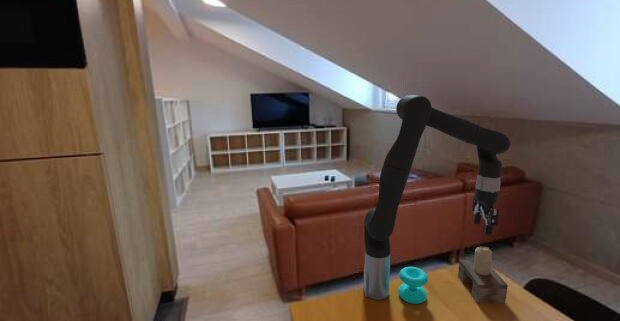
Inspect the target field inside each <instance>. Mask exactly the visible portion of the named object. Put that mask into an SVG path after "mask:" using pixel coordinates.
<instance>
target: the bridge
mask: <svg viewBox="0 0 620 321" xmlns="http://www.w3.org/2000/svg"><path fill="white" fill-rule="evenodd" d="M473 268H474V259H459V263H458V271H457V272H458V273H457V277H458V278H459V280H460V281H461V282H462V283H472V287H471V297H472V299H473V300H474V301H475V303H477V304H506V302H507V301H506V299H507V293H508V286H509V285H508V284H507V283H506V281H505V280H504V279H503V278H502V277H501V276H500V275H499V274H498V273H497V271H496V270H495V269H494V268H493V267H492V266H491V268H490V274H489V275H480V274H477V273H476V272H475V271H474V269H473Z"/></svg>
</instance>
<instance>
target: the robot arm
mask: <svg viewBox="0 0 620 321" xmlns="http://www.w3.org/2000/svg"><path fill="white" fill-rule="evenodd" d="M395 107H396V108H395V110H396V114H397V116H398V117H399V118H400V119H401V120H402V122H401V125H400V128H399V132H398V136H397V138H396V140H395V141H394V143H393V144H392V146H391V147H390V149H389V151H388V152H387V154H386V155H385V159H384V161H383V164H382V167H381V171H380V176H379V182H378V183H379V184H378V186H379V187H378V196H377V198H378V199H377V204H376V206H375V208H371V209H369V210H368V211H367V213H366V214H365V216H364V222H363V224H364V225H363V230H364V232H363V233H364V234H363V235H364V237H363V238H364V266H363V292H364V296H365V298H369V299H372V300H378V301H381V300H385V299H387V298H388V297H389V294H390V277H391V276H390V274H391V273H390V272H391V271H390V270H391V252H392V251H391V242H390V236H391V235H393V234H392V233H393V231H394V228H395V226H396V225H395V224H396V219H397V218H396V217H397V213H398V210H399V206H400V202H401V200H402V197H403V194H404V191H405V189H406V188H405V187H406V186H407V182H408V180H409V177H410V174H411V170H412V166H413V163H414V160H415V158H416V157H415V156H416V153H417V152H418V151H417V150H418V148H419V143H420V140H421V138H422V136H423V133H424V131H425V130H426V129H425V128H426V127H429V128H432V129H434V130H437V131H439V132H441V133H444V134H445V135H447V136H449V137H451V138H454V139H456V140H459V141H461V142H463V143H467V144H469V145H473V146H476V149H477V150H476V151H477V158H478V170H477V176H476V179H475V180H476V181H475V189H474V196H473V197H472V205H471V212H473V225H481V220H482V219H483V220H484V223H485V226H484V235H486V236H491V235H492V234H493V228H494V227H498V225H499V224H498V223H499V214H500V211H499V209H496V208H495V207H494V205H495V204H496V203H498V202H499V196H500V189H501V176H502V168H503V162H502V161H501V160H499V158H498V157H497V155H500V154H504V153H506V152H507V151H508V150H509V149H510V147H511V141H510V140H511V139H510V138H509V136H507V135H506V134H505V133H502V132H500V131H496V130H494V129H491V128H488V127H484V126H481V125H480V124H477V123H475V122H474V121H471V120H468V119H466V118H463V117H460V116H456V115H455V114H451V113H447V112H444V111H441V110H439V109H437V108H435V107H432V103H431V101H430V99H428V98H427V97H425V96H424V95H419V94H418V95H417V94H408V95H405V96H403V97H401V99H399V100H398V101H397V104H396V106H395Z"/></svg>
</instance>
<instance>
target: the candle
mask: <svg viewBox="0 0 620 321" xmlns="http://www.w3.org/2000/svg"><path fill="white" fill-rule="evenodd" d="M474 249H475V251H474V259H473V260H474V268H473V269H474V271H475V272H476V273H477V274H480V275H489V274H490V268H491V267H492V257H493V252H492V250H491V249H490V248H489V247H488V246H478V247H476V248H474Z"/></svg>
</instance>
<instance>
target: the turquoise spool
mask: <svg viewBox="0 0 620 321" xmlns="http://www.w3.org/2000/svg"><path fill="white" fill-rule="evenodd" d="M399 279H400V281H402V284H400V286H399V287H398V295H399V296H400V298H401V299H402V300H403V301H405V302H406V303H409V304H413V305H414V304H415V305H418V304H422V303H424V302H425V301H426V300H427V297H428V296H427V291H426V290H425V288H424V286H425V285H426V284H427V283H428V280H429V277H428V274H427V272H426V271H424V270H423V269H421V268H420V267H415V266H405V267H403V268H402V269H401V270H400V271H399Z"/></svg>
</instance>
